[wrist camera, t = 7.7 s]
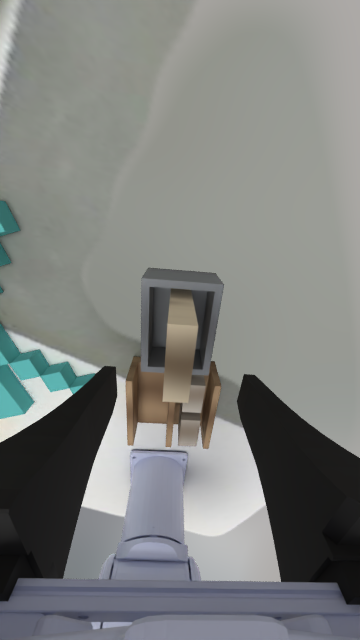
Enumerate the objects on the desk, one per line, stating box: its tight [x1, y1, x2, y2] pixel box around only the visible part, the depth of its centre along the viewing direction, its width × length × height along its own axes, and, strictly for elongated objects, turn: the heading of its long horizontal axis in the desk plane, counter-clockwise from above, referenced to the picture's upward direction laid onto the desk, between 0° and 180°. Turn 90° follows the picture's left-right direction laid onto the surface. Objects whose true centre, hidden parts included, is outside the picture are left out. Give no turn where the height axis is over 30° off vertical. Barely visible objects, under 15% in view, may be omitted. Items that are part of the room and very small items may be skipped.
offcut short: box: [182, 375, 206, 413], centre depth 23 cm, size 4×2×3 cm, turn 175°
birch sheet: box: [162, 288, 198, 403], centre depth 17 cm, size 6×2×8 cm, turn 175°
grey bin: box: [141, 268, 224, 375], centre depth 20 cm, size 9×6×4 cm
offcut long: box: [178, 403, 201, 446], centre depth 24 cm, size 4×2×3 cm, turn 175°
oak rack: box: [126, 357, 221, 449], centre depth 24 cm, size 9×9×4 cm
